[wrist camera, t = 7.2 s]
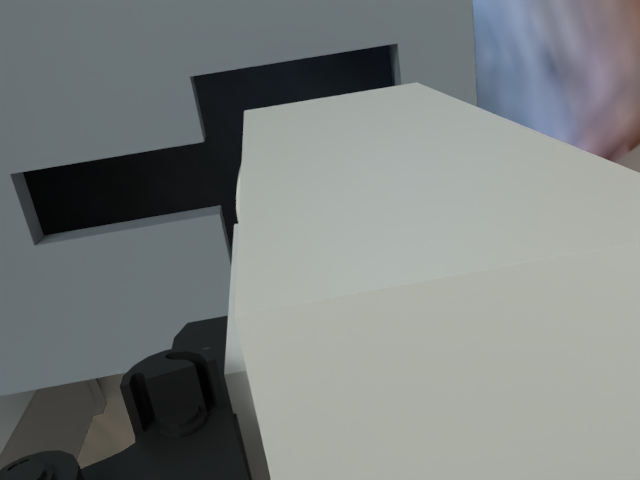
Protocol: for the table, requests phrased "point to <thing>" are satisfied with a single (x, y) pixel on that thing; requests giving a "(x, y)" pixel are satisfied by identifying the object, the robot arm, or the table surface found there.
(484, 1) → the table surface
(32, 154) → the keyhole box
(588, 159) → the peg
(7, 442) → the cassette tape recorder
